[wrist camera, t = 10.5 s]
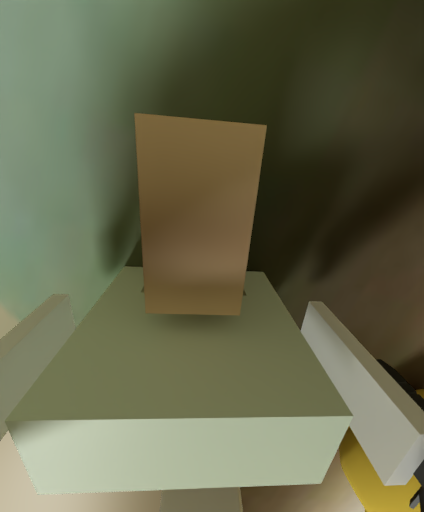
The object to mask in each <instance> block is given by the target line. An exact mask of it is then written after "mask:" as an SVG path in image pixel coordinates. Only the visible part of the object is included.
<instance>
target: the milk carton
mask: <svg viewBox="0 0 424 512" xmlns="http://www.w3.org/2000/svg"><path fill="white" fill-rule="evenodd" d="M160 512H243V508H242V500H241V493H240V487H222V488H197V489H172V490H162V495H161V505H160Z"/></svg>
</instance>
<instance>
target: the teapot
mask: <svg viewBox="0 0 424 512" xmlns="http://www.w3.org/2000/svg"><path fill="white" fill-rule="evenodd" d="M415 391H416V392H417V394H419V395H420V396H421V397H422V398H423V399H424V389H419V390H415ZM339 453H340V462H341V466H342V469H343V471H344V473H345V475H346V477H347V479H348V481H349V483H350V484H351V486H352V488H353V490H354V491H355V493H356V495H357V497H358V498H359V500H360V501H361V503H362V505H363V506H364V508H365V512H421V509H420V502H419V504H418V505H417V506H416V507H415V508H414V509H412V508H411V507H409V503H410V499H411V498H412V497H413V496H414V494H415V493H416V492H417V491H418V490H419V488H420V487H421V484H420V483H419V481H418V480H417V479H416V477H415V476H414V475H413V476H412V477H411V479H410V480H409V481H408V483H407V484H406V485H390V486H384V484H383V483H382V481H381V479H380V477H379V476H378V474H377V472H376V471H375V469H374V467H373V465H372V464H371V462H370V460H369V459H368V457H367V455H366V454H365V452H364V450H363V448H362V447H361V445H360V443H359V442H358V440H357V438H356V436H355V435H354V433H353V431H352V430H351V428H350V426H349V427H348V429H347V431H346V433H345V435H344V437H343V439H342V441H341V443H340V445H339Z"/></svg>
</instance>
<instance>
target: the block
mask: <svg viewBox="0 0 424 512" xmlns="http://www.w3.org/2000/svg"><path fill="white" fill-rule="evenodd" d="M352 418H353V414H352V413H351V411H350V410H349V408H348V406H347V405H346V403H345V402H344V400H343V398H342V397H341V395H340V394H339V392H338V390H337V389H336V387H335V386H334V384H333V382H332V381H331V379H330V378H329V376H328V374H327V373H326V371H325V370H324V368H323V366H322V365H321V363H320V362H319V360H318V358H317V357H316V355H315V354H314V352H313V350H312V349H311V347H310V346H309V344H308V342H307V341H306V339H305V338H304V336H303V334H302V333H301V331H300V330H299V328H298V327H297V325H296V323H295V322H294V320H293V319H292V317H291V315H290V314H289V312H288V311H287V309H286V307H285V306H284V304H283V303H282V301H281V299H280V298H279V296H278V295H277V293H276V291H275V290H274V288H273V287H272V285H271V283H270V282H269V280H268V279H267V277H266V275H265V274H264V272H255V271H246V276H245V283H244V290H243V297H242V304H241V311H240V315H196V314H152V313H146V312H145V294H144V276H143V267H128V266H124V267H123V269H122V270H121V271H120V273H119V274H118V275H117V276H116V278H115V279H114V280H113V282H112V283H111V284H110V286H109V287H108V288H107V289H106V291H105V292H104V293H103V295H102V296H101V297H100V298H99V300H98V301H97V302H96V304H95V305H94V306H93V307H92V309H91V310H90V311H89V313H88V314H87V315H86V316H85V318H84V319H83V320H82V322H81V323H80V324H79V325H78V327H77V328H76V329H75V331H74V332H73V333H72V335H71V336H70V337H69V338H68V340H67V341H66V342H65V344H64V345H63V346H62V347H61V349H60V350H59V351H58V353H57V354H56V355H55V356H54V358H53V359H52V360H51V362H50V363H49V364H48V365H47V367H46V368H45V369H44V371H43V372H42V373H41V374H40V376H39V377H38V378H37V380H36V381H35V382H34V384H33V385H32V386H31V387H30V389H29V390H28V391H27V393H26V394H25V395H24V396H23V398H22V399H21V400H20V402H19V403H18V404H17V405H16V407H15V408H14V409H13V411H12V412H11V413H10V414H9V416H8V417H7V418H6V420H5V424H6V426H7V428H8V430H9V432H10V434H11V437H12V439H13V441H14V443H15V446H16V448H17V450H18V452H19V455H20V456H21V459H22V461H23V463H24V466H25V468H26V470H27V472H28V474H29V477H30V479H31V481H32V483H33V485H34V488H35V490H36V492H37V494H38V495H44V494H70V493H94V492H95V493H96V492H121V491H146V490H172V489H197V488H222V487H248V486H273V485H298V484H321V482H322V480H323V478H324V476H325V474H326V472H327V470H328V468H329V466H330V464H331V462H332V460H333V458H334V455H335V453H336V451H337V449H338V447H339V445H340V443H341V441H342V439H343V437H344V435H345V433H346V431H347V429H348V427H349V424H350V422H351V420H352Z"/></svg>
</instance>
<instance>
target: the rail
mask: <svg viewBox="0 0 424 512" xmlns="http://www.w3.org/2000/svg"><path fill="white" fill-rule="evenodd" d="M266 128H267V125H259V124H248V123H237V122H226V121H215V120H205V119H194V118H183V117H172V116H162V115H151V114H140V113H135V131H136V149H137V167H138V185H139V203H140V222H141V240H142V258H143V276H144V294H145V312H146V313H152V314H196V315H240V311H241V304H242V297H243V290H244V283H245V276H246V269H247V262H248V255H249V248H250V241H251V234H252V227H253V220H254V213H255V206H256V199H257V192H258V185H259V177H260V170H261V163H262V156H263V149H264V142H265V135H266Z"/></svg>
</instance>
